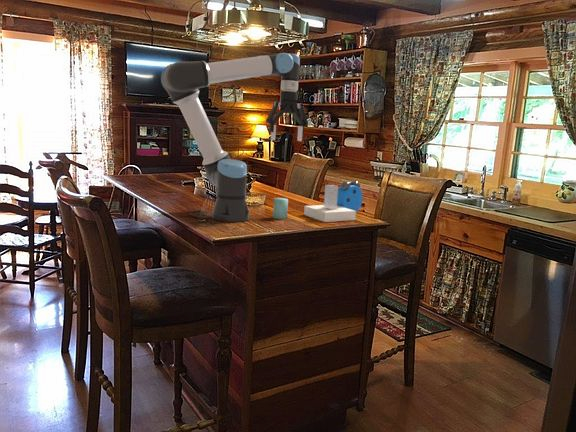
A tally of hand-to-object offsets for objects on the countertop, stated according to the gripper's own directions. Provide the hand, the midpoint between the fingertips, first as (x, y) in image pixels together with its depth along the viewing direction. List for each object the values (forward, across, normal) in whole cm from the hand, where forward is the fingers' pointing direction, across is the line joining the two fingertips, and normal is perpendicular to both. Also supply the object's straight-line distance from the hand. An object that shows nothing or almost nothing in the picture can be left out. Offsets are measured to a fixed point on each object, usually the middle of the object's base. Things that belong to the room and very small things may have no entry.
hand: (286, 140), depth 219 cm
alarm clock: (+32, +28, -13) cm, 44 cm away
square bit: (+32, +13, -19) cm, 39 cm away
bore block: (+32, +13, -19) cm, 39 cm away
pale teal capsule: (+32, -9, -14) cm, 36 cm away
